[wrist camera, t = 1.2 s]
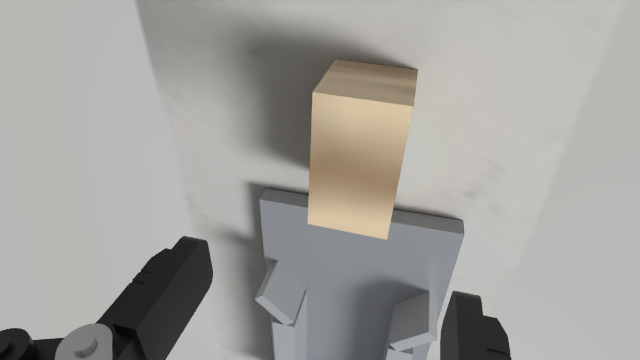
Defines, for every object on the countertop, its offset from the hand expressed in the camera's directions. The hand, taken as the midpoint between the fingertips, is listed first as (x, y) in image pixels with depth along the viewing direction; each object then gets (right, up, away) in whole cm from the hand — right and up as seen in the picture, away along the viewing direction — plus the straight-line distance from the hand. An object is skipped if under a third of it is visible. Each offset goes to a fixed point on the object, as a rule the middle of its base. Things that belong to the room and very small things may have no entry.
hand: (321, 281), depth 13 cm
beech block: (+3, +6, +8) cm, 11 cm away
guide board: (+2, -7, +17) cm, 19 cm away
